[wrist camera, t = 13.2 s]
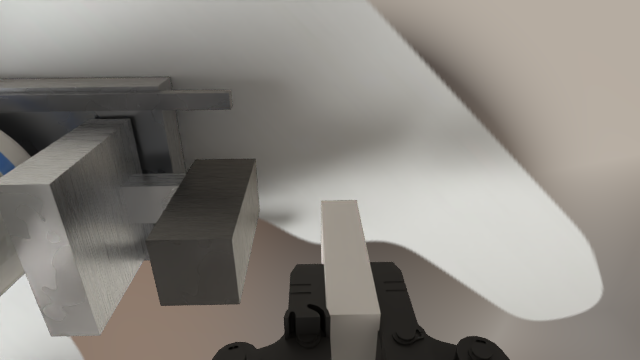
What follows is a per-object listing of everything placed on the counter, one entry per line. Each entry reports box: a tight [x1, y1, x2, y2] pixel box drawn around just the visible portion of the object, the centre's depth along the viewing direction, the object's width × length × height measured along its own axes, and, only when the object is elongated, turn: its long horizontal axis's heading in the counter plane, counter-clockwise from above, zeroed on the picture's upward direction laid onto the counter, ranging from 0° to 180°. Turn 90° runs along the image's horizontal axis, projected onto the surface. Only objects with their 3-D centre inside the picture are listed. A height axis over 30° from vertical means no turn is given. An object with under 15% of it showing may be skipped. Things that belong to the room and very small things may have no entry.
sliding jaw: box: [0, 119, 260, 336], centre depth 18 cm, size 7×8×8 cm
